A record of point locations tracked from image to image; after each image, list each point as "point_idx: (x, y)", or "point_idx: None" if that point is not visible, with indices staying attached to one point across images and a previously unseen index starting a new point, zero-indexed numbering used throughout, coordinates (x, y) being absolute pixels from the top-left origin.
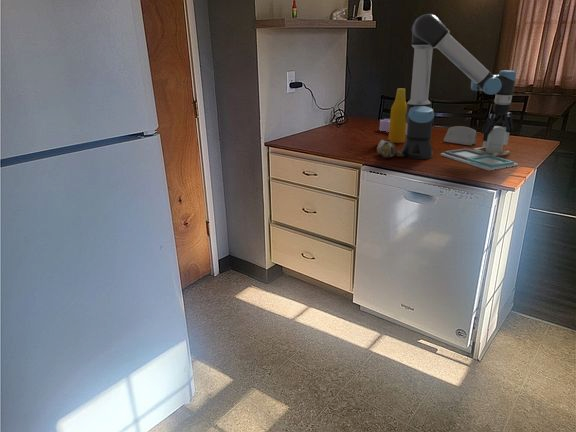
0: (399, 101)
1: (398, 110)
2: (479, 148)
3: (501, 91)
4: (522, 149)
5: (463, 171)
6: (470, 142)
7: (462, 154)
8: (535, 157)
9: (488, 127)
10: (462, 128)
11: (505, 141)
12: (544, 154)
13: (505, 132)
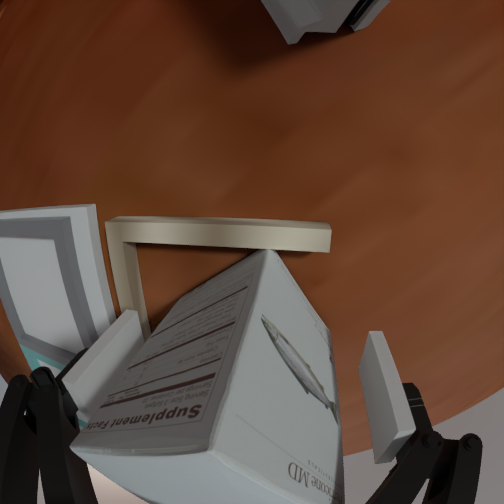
0: None
1: None
2: (164, 243)
3: None
4: (480, 336)
5: (13, 369)
6: (287, 17)
7: (27, 278)
8: (349, 445)
9: (31, 456)
10: None
11: (366, 381)
12: (434, 425)
13: (387, 440)
